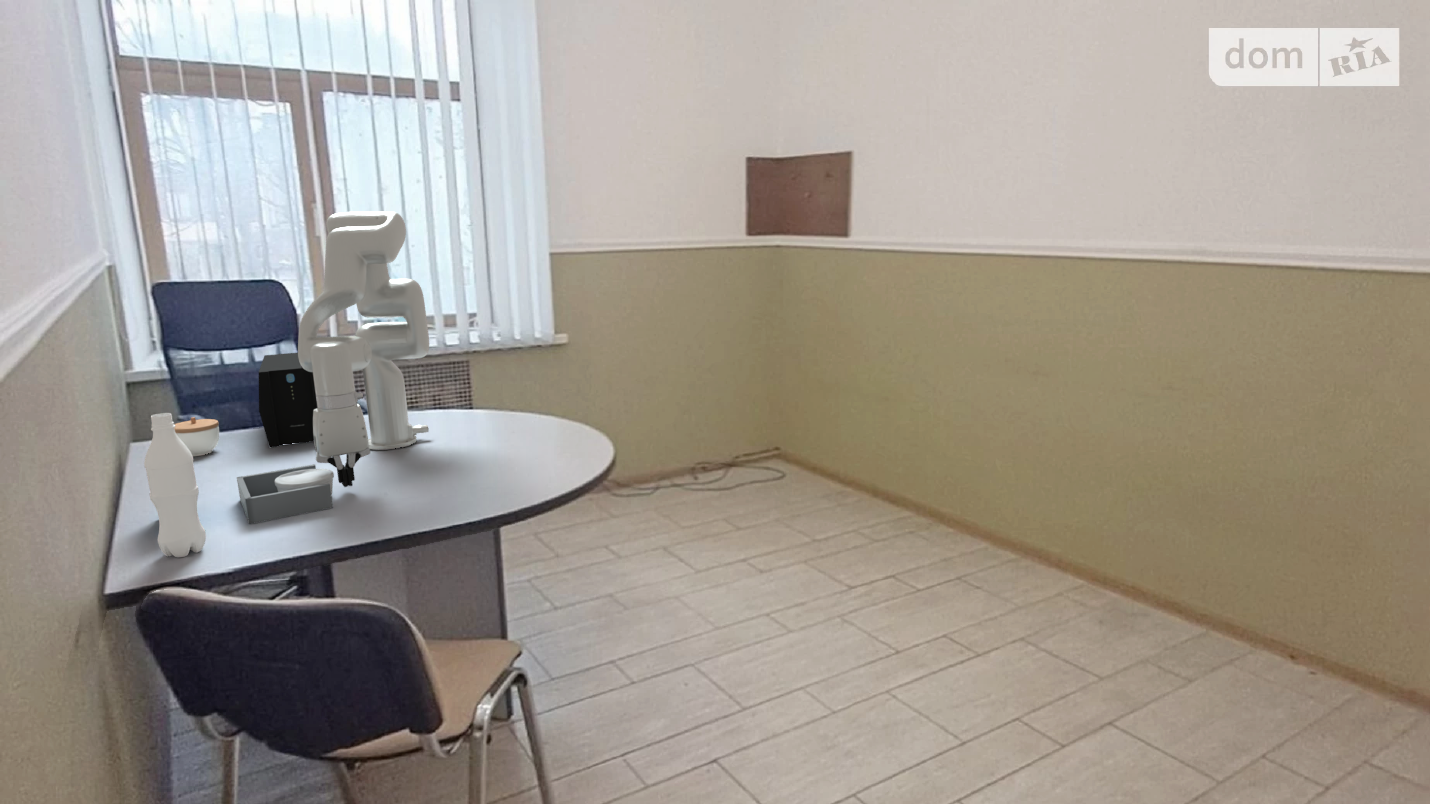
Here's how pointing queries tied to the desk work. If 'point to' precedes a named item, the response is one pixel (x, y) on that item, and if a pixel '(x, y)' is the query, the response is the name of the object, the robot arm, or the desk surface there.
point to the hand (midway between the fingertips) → (347, 484)
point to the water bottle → (173, 489)
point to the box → (280, 496)
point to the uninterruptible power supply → (286, 400)
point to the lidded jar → (198, 435)
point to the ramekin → (304, 479)
